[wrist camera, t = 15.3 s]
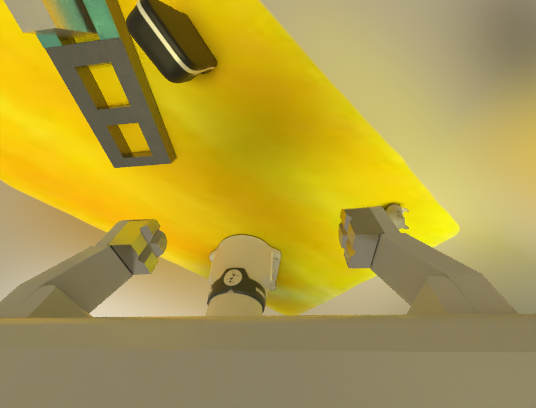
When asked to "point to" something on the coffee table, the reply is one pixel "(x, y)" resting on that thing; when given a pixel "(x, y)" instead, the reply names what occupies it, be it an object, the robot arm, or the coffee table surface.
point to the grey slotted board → (130, 76)
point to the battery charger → (169, 41)
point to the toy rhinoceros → (397, 215)
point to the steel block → (53, 17)
